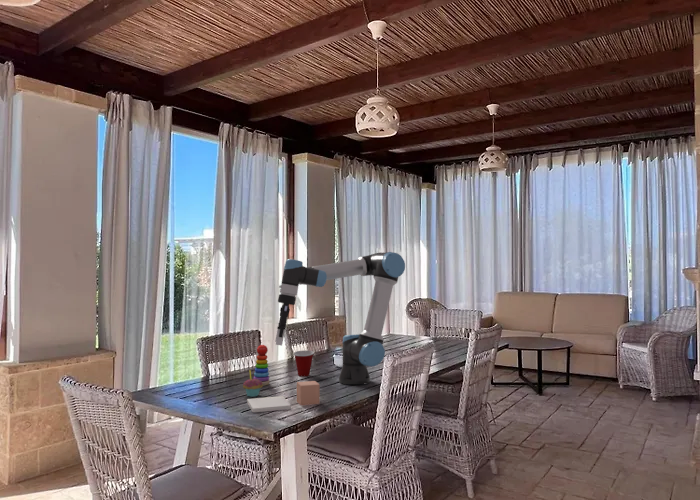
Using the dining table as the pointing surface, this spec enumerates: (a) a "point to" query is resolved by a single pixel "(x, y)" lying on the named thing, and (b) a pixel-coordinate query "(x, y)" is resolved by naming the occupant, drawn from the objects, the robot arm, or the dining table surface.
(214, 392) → the dining table surface
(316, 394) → the tan cube
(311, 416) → the dining table surface
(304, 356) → the plastic cup
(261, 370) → the stacking toy
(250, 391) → the cupcake
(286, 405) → the base plate
